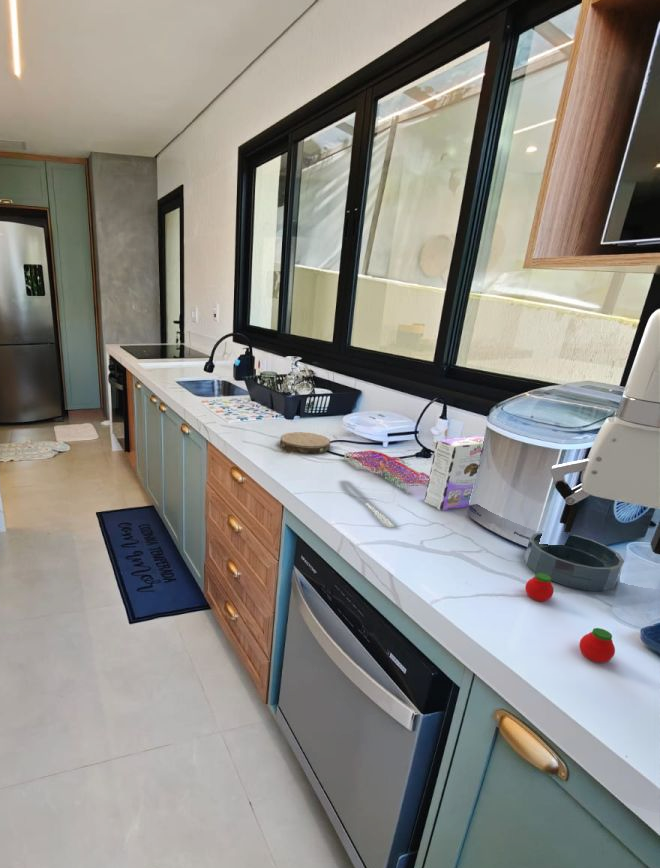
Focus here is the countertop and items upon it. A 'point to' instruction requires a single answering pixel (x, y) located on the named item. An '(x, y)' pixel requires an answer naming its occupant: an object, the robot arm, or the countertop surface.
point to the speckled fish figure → (393, 467)
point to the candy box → (453, 472)
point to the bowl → (575, 562)
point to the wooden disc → (304, 443)
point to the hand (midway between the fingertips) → (609, 539)
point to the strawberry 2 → (597, 645)
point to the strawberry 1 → (540, 587)
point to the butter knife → (381, 517)
